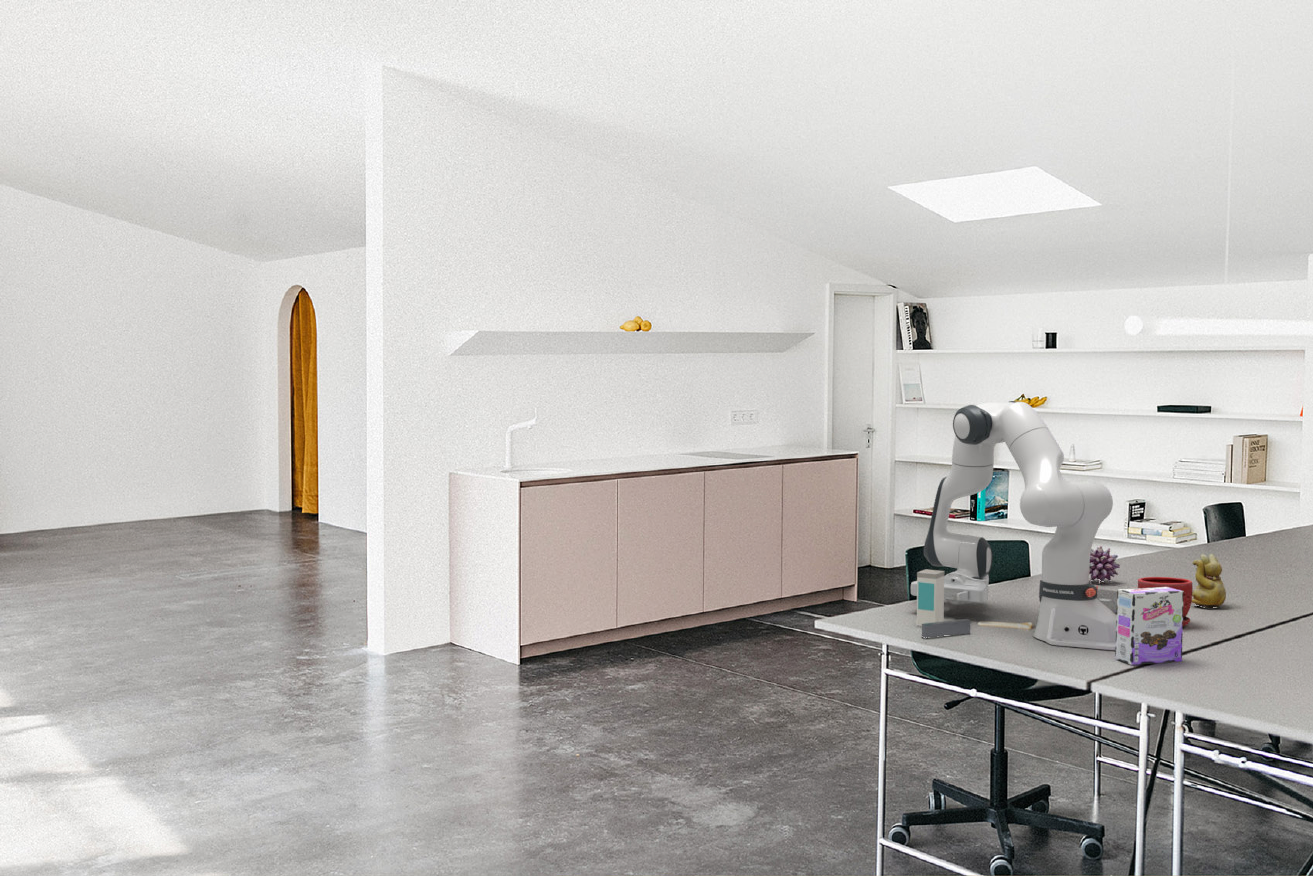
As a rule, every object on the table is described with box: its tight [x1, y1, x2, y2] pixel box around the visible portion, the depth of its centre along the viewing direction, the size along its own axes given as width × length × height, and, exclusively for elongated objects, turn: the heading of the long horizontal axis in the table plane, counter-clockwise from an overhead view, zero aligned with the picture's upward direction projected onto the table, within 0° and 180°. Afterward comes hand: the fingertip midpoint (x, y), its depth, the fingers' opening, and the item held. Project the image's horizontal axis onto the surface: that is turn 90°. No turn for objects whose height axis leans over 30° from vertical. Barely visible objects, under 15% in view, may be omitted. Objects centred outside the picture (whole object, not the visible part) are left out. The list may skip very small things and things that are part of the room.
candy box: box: [1114, 587, 1184, 666], centre depth 259 cm, size 14×6×16 cm, turn 105°
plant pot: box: [1137, 576, 1194, 627], centre depth 298 cm, size 13×13×12 cm
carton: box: [916, 568, 945, 627], centre depth 297 cm, size 5×6×14 cm
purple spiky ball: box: [1089, 545, 1121, 582], centre depth 359 cm, size 12×12×12 cm
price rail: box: [921, 618, 971, 638], centre depth 285 cm, size 2×14×4 cm, turn 115°
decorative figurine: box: [1191, 553, 1227, 608], centre depth 321 cm, size 10×8×15 cm
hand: (938, 595), depth 302 cm, fingers open, 8 cm apart
